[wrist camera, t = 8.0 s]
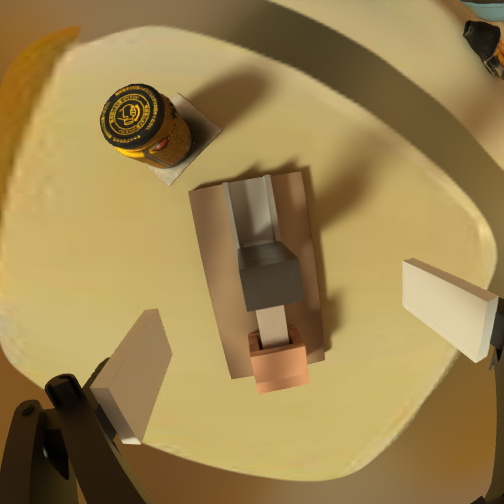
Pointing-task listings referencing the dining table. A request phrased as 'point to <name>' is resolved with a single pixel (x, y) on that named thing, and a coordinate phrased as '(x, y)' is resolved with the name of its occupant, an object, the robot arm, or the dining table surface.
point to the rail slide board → (229, 283)
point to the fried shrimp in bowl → (487, 45)
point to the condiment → (156, 129)
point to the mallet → (270, 286)
